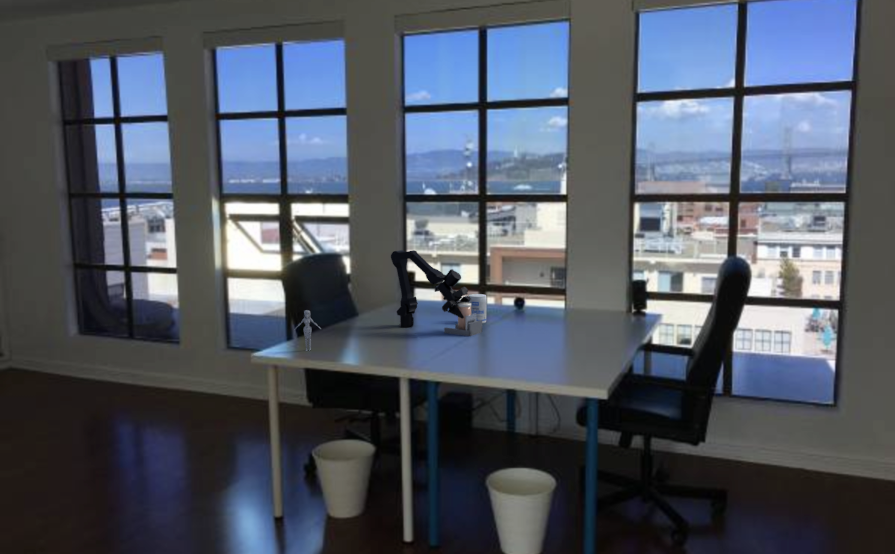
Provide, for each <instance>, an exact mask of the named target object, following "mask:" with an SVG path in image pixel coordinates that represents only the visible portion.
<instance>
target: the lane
mask: <svg viewBox="0 0 895 554" xmlns="http://www.w3.org/2000/svg"><path fill="white" fill-rule="evenodd" d="M454 327H455V328H453V327H444V328H443V329H444V330H443V331H444V334H450V335H456V336H464V337H465V336H466V337H474V336H476V335H478V334H482V333H483V323H482V320H479V321H475V322H472V323H469V330H462V329H458V323H455V326H454Z"/></svg>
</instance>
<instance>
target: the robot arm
mask: <svg viewBox="0 0 895 554" xmlns="http://www.w3.org/2000/svg"><path fill="white" fill-rule="evenodd" d="M390 260H391V262H392V265H393V266H394V267H395V269H396V273H397V277H398V282H399V288H400V291H401V292H400V293H401V298H400V302H399V303H400V307H399V308H398V309H397V311H396V315H397V316H399V325H398V326H399V327H400V328H412V327H414V324H415V323H414V321H415V317H413V314H415V313H416V310H417V309H418V299H417V297H416V296H414V295H413V294H412V290H411V285H410V281H409V276H408V271H407V270H408V269H407V264H408V260H410V261H411V262H412V263H413V264H414V265H416V267H417V268H419V269H420V270H421V271H422V272H423V273H424V275H425V277H426V279H427V281H428V282H429V283H430V284H431V285H436V286H434V292H439V293H440V294H441V295H442V296H443V301H446V302H445V303H444V304H443V305H442V306H441V309H442V311H443V312H444V313H450V314H452V315H454V316H456V317H457V318H458V317H460V318H462V319H463V318H464V316H463V315H462V313H461V311H460V310H459V308H458V303H469V301H470V300H471V298H470V297H469V294H468V292H469V289H468V288H467V287H466V286H463V287H461V288H459V289H458V290H456V289H453V288H452V287H455V286H456V285H457V284H458V283H459V282H460V280H461V279H462V275H461V274H460V273H459V272H458V271H456V270H454V269H453V268H452V269H449V271H448V272H447V274H444V273H443V272H442V271H440V270H439V269H437V268H434V267H433V266H432V265H431V264H429V263H428V262H427V261H426V260H425V259H424V258H423V257H422V256H421V255H420V253H418V252H417V250H408V251H405V250H402V249H401V250H395V251H392V252H391V254H390ZM437 284H438V285H437Z"/></svg>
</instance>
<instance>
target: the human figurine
mask: <svg viewBox="0 0 895 554" xmlns="http://www.w3.org/2000/svg"><path fill="white" fill-rule="evenodd" d="M302 323H304V325H305V326H304V327H303V335H304V338H305V339H304V342H305V352H310V350H311V349H312V348H311V345H312V343H311V342H312V339H311V337H312V326H310V324H311V323H313V324H314V325H315V326H317V327H318V328H319V329H320V330H322V328H321V327H320V326H319V325H318V324H317V323H316V322H314V320H313V319H312V318H311V311H310V310H308V309H306V310H303V319H302V320H301V322H299V323H298V324H297V326H296V327H295V328H294V330H293V331H295V330H297V328H298V327H300V325H302ZM308 345H309V346H308ZM308 347H309V349H308ZM311 351H312V350H311Z"/></svg>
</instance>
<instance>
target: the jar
mask: <svg viewBox="0 0 895 554" xmlns="http://www.w3.org/2000/svg"><path fill="white" fill-rule="evenodd" d="M458 308H459V310H460V311H461V313H462V315H463V316H464V318H463V319H462V318H460V317H458V316H457V324H458V329H462V330H466V317H465V316H467V315H470V314H471V303H458Z"/></svg>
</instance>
